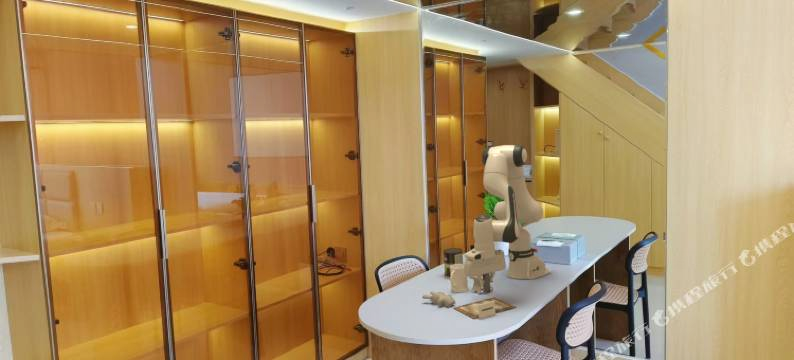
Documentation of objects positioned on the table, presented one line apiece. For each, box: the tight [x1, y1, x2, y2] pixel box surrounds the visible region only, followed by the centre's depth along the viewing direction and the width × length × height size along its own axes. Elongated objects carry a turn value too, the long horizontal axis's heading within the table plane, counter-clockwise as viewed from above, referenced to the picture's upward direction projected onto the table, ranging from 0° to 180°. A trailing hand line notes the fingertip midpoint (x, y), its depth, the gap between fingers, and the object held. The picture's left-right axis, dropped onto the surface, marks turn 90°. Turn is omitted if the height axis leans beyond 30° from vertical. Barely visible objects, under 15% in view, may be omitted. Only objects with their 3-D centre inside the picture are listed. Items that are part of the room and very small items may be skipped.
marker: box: [482, 273, 492, 294], centre depth 241 cm, size 3×3×12 cm
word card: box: [478, 301, 496, 320], centre depth 228 cm, size 8×1×6 cm, turn 116°
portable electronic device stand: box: [468, 276, 494, 295], centre depth 261 cm, size 9×8×8 cm
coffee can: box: [442, 247, 464, 280], centre depth 289 cm, size 10×10×14 cm
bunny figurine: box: [422, 290, 456, 308], centre depth 248 cm, size 10×5×15 cm
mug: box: [449, 263, 469, 294], centre depth 264 cm, size 12×8×12 cm
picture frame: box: [453, 297, 517, 320], centre depth 238 cm, size 22×16×1 cm
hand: (486, 283), depth 241 cm, fingers closed on marker, 3 cm apart
